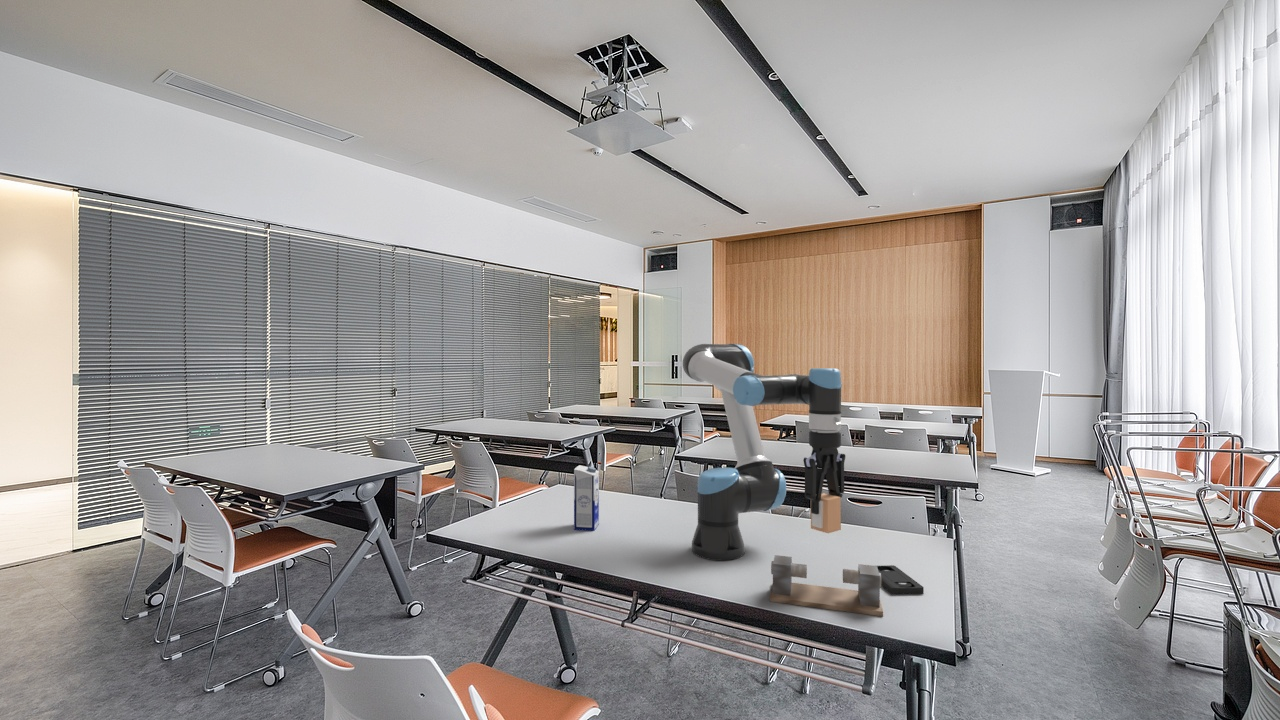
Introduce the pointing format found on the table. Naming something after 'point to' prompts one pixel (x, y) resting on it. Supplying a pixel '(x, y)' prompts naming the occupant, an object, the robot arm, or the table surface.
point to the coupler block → (830, 514)
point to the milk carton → (586, 498)
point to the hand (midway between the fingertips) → (824, 524)
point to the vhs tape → (898, 581)
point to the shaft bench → (827, 588)
